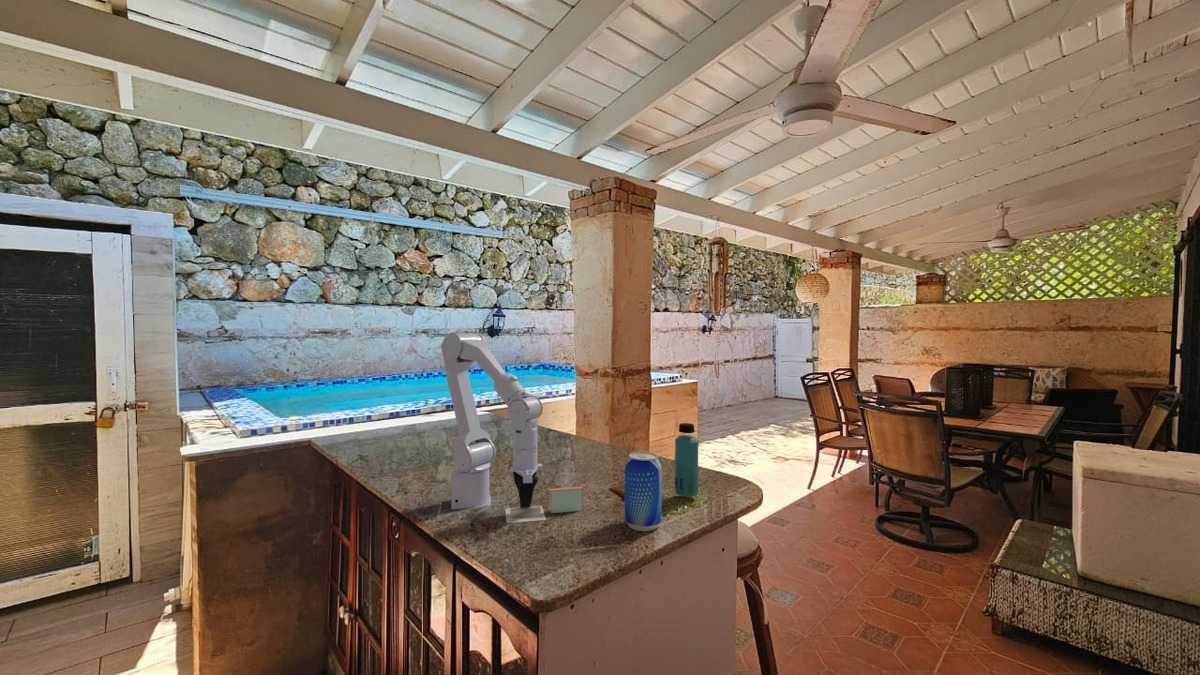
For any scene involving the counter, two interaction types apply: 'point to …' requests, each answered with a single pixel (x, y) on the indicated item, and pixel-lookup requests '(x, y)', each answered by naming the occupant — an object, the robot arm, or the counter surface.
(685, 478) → the beverage bottle
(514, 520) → the mat
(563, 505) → the tile
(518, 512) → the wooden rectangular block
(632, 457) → the beer can
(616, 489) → the primitive tool
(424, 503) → the counter surface
